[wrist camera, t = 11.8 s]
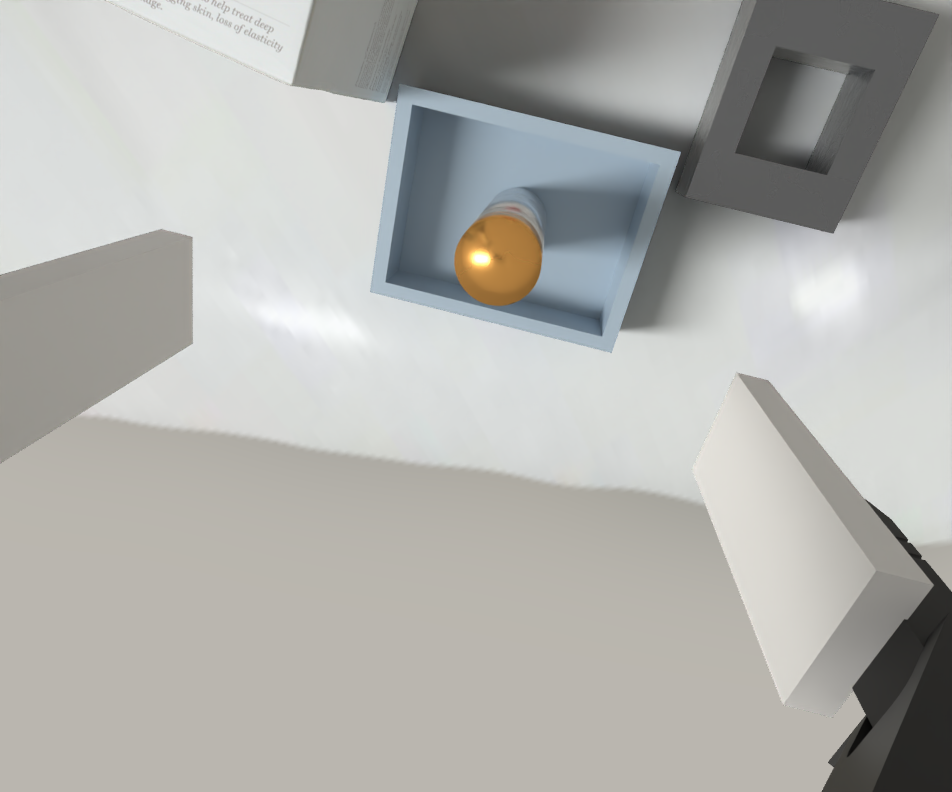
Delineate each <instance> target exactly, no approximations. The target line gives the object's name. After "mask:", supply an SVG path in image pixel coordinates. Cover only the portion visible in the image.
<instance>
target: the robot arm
mask: <svg viewBox="0 0 952 792" xmlns="http://www.w3.org/2000/svg"><path fill="white" fill-rule="evenodd" d="M191 344H193V314H192V237H190V236H186V235H182V234H178V233H174V232H170V231H166V230H162V229H160V230H156V231H153V232H149V233H146V234H142V235H139V236H135V237H132V238H128V239H125V240H121V241H118V242H114V243H111V244H107V245H104V246H100V247H97V248H93V249H90V250H86V251H83V252H79V253H76V254H72V255H69V256H65V257H62V258H58V259H55V260H51V261H48V262H44V263H41V264H37V265H34V266H30V267H27V268H23V269H19V270H16V271H12V272H9V273H5V274H2V275H0V463H2V462H4V461H5V460H7V459H8V458H10V457H12V456H13V455H15V454H16V453H18V452H20V451H21V450H23V449H24V448H26V447H28V446H29V445H31V444H32V443H34V442H35V441H37V440H39V439H41V438H42V437H44V436H45V435H47V434H48V433H50V432H52V431H53V430H55V429H56V428H58V427H60V426H61V425H63V424H65V423H66V422H68V421H69V420H71V419H73V418H74V417H76V416H77V415H79V414H81V413H82V412H84V411H85V410H87V409H89V408H90V407H92V406H93V405H95V404H97V403H98V402H100V401H101V400H103V399H105V398H106V397H108V396H109V395H111V394H113V393H114V392H116V391H117V390H119V389H121V388H122V387H124V386H125V385H127V384H129V383H130V382H132V381H133V380H135V379H137V378H138V377H140V376H141V375H143V374H145V373H146V372H148V371H149V370H151V369H153V368H154V367H156V366H157V365H159V364H161V363H162V362H164V361H165V360H167V359H169V358H170V357H172V356H173V355H175V354H177V353H178V352H180V351H181V350H183V349H185V348H186V347H188V346H189V345H191ZM692 471H693V474H694V476H695V479H696V482H697V484H698V487H699V489H700V492H701V495H702V497H703V500H704V502H705V505H706V507H707V510H708V512H709V515H710V518H711V520H712V523H713V525H714V528H715V531H716V533H717V536H718V538H719V541H720V544H721V546H722V549H723V551H724V554H725V557H726V559H727V562H728V564H729V567H730V569H731V572H732V575H733V577H734V580H735V582H736V585H737V587H738V590H739V592H740V595H741V598H742V600H743V603H744V606H745V608H746V611H747V613H748V616H749V619H750V621H751V624H752V626H753V629H754V631H755V634H756V636H757V639H758V642H759V644H760V647H761V649H762V652H763V655H764V657H765V660H766V662H767V665H768V667H769V670H770V673H771V675H772V678H773V681H774V683H775V686H776V688H777V691H778V693H779V696H780V699H781V701H782V704H783V705H785V706H789V707H792V708H797V709H800V710H804V711H808V712H812V713H816V714H820V715H823V716H828V717H831V718H833V716H834V715H835V714H836V712H837V711H838V710H839V709H840V707H841V706H842V705H843V703H844V702H845V701H846V699H847V698H848V697H849V696H850V694H851V693H852V692H853V691H854V692H855V694H856V696H857V698H858V700H859V702H860V704H861V706H862V708H863V710H864V712H865V714H866V716H865V717H864V718H863V719H862V720H861V722H860V723H859V724H858V726H857V727H856V728H855V729H854V731H853V732H852V733H851V734H850V735H849V737H848V738H847V739H846V740H845V742H844V743H843V744H842V745H841V747H840V748H839V749H838V750H837V752H836V753H835V754H834V755H833V757H832V758H831V759H830V760H829V762H828V763H829V764H831V765H832V766H833V767H834V769H833V771H832V773H831V775H830V776H829V778H828V780H827V782H826V784H825V786H824V788H823V790H822V792H952V592H951V590H950V589H949V588H948V587H947V586H946V584H945V583H944V582H943V581H942V580H941V578H940V577H939V576H938V575H937V574H936V573H935V571H934V570H933V569H932V568H931V566H930V565H929V564H928V563H927V562H926V561H925V560H922V559H921V557H922V556H921V554H920V553H919V552H918V551H917V550H916V548H915V547H914V546H913V545H912V544H911V543H907V541H908V539H907V538H906V536H905V535H904V534H903V533H902V532H901V530H900V529H899V528H898V527H897V526H896V525H895V523H894V522H893V521H892V520H891V519H890V518H889V517H887V516H886V515H885V514H884V513H882V512H881V511H880V510H879V509H877V508H876V507H875V506H874V505H872V504H871V503H870V502H868V501H867V500H865V499H864V498H863V497H862V496H861V494H860V493H859V492H858V491H857V489H856V488H855V487H854V486H853V484H852V483H851V482H850V481H849V479H848V478H847V477H846V476H845V475H844V473H843V472H842V471H841V470H840V468H839V467H838V466H837V465H836V463H835V462H834V461H833V460H832V458H831V457H830V456H829V455H828V453H827V452H826V451H825V450H824V449H823V447H822V446H821V445H820V444H819V442H818V441H817V440H816V439H815V437H814V436H813V435H812V434H811V432H810V431H809V430H808V429H807V428H806V426H805V425H804V424H803V423H802V421H801V420H800V419H799V418H798V416H797V415H796V414H795V413H794V411H793V410H792V409H791V408H790V406H789V405H788V404H787V403H786V402H785V400H784V399H783V398H782V397H781V395H780V394H779V393H778V392H777V390H776V389H775V388H774V387H773V385H772V384H771V383H770V382H769V381H768V380H764V379H760V378H756V377H752V376H748V375H744V374H740V373H736V374H735V376H734V379H733V381H732V383H731V385H730V387H729V390H728V392H727V394H726V396H725V398H724V400H723V403H722V405H721V407H720V409H719V411H718V413H717V416H716V418H715V420H714V422H713V424H712V426H711V429H710V431H709V433H708V435H707V437H706V440H705V442H704V444H703V446H702V448H701V450H700V453H699V455H698V457H697V459H696V461H695V463H694V466H693V468H692Z"/></svg>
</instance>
